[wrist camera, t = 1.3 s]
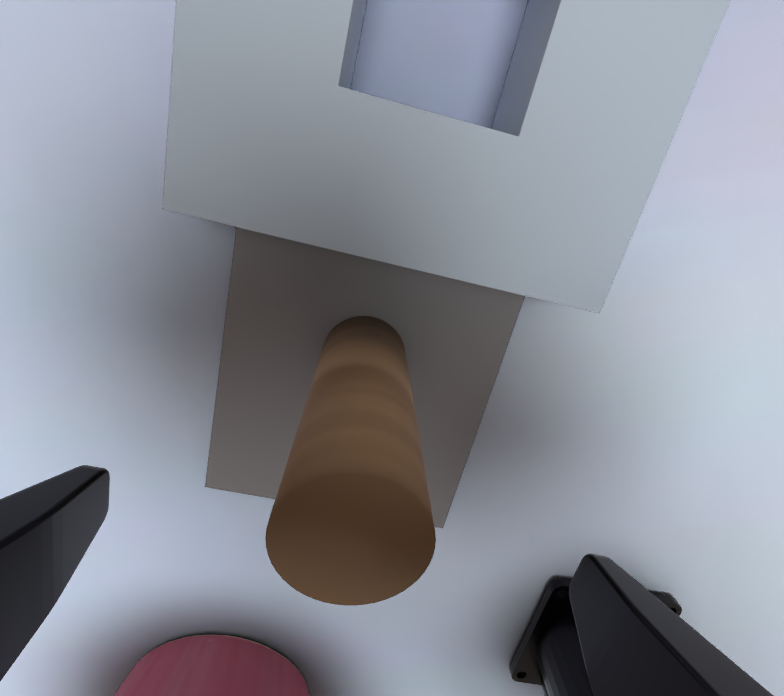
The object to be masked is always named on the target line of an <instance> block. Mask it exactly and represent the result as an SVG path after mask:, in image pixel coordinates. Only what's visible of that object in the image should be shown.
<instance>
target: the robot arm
mask: <svg viewBox="0 0 784 696" xmlns="http://www.w3.org/2000/svg"><path fill="white" fill-rule="evenodd" d="M109 481H110V476H109V472H108V471H107V470H106V469H104V468H99V467H93V466H88V465H83V466H79V467H76V468H74V469H72V470H69V471H67V472H64V473H62V474H60V475H57V476H55V477H52V478H50V479H48V480H45V481H43V482H41V483H38V484H36V485H33V486H31V487H29V488H26V489H24V490H21V491H19V492H17V493H14V494H12V495H9V496H7V497H5V498H2V499H0V681H1V680H2V678H3V677H4V675H5V674H6V673H7V671H8V670H9V668H10V667H11V666H12V664H13V663H14V662H15V660H16V659H17V657H18V656H19V655H20V653H21V652H22V650H23V649H24V648H25V646H26V645H27V643H28V642H29V641H30V639H31V638H32V636H33V635H34V634H35V632H36V631H37V630H38V628H39V627H40V625H41V624H42V623H43V621H44V620H45V618H46V617H47V615H48V614H49V612H50V611H51V610H52V608H53V607H54V605H55V603H56V602H57V600H58V599H59V597H60V595H61V594H62V592H63V590H64V589H65V587H66V585H67V583H68V582H69V580H70V578H71V577H72V575H73V573H74V571H75V570H76V568H77V566H78V565H79V563H80V561H81V559H82V558H83V556H84V554H85V552H86V551H87V549H88V547H89V546H90V544H91V542H92V540H93V539H94V537H95V535H96V534H97V532H98V530H99V528H100V527H101V525H102V523H103V521H104V520H105V517H106V515H107V512H108V507H109ZM681 611H682V608H681V606H680V605H679V603H678V602H677V601H676V599H675V598H673V597H670V596H664V595H658V594H652V593H650V592H649V591H648V590H647V589H646V588H644V587H643V586H642V585H641V584H640V583H639V582H637V581H636V580H635V579H634V578H633V577H631V576H630V575H629V574H628V573H627V572H625V571H624V570H623V569H622V568H621V567H619V566H618V565H617V564H616V563H615V562H613V561H612V560H611V559H610V558H608V557H605V556H600V555H595V554H587V555H585V556H584V557H583V559H582V561H581V563H580V565H579V567H578V569H577V571H576V573H575V575H574V577H573V579H572V580H567V579H556V580H553V581H552V582H551V583H550V584H549V585H548V587H547V589H546V592H545V594H544V596H543V598H542V600H541V602H540V604H539V606H538V608H537V610H536V612H535V614H534V616H533V618H532V621H531V623H530V625H529V627H528V629H527V631H526V633H525V635H524V637H523V639H522V641H521V643H520V645H519V648H518V650H517V652H516V654H515V656H514V658H513V660H512V662H511V664H510V667H509V669H510V673H511V676H512V679H513V680H515V681H518V682H524V683H532V684H539V685H542V687H543V690H544V693H545V696H773V695H772V694H771V693H770V692H768V691H767V690H766V689H765V688H764V687H762V686H761V685H760V684H759V683H758V682H756V681H755V680H754V679H753V678H752V677H750V676H749V675H748V674H747V673H746V672H745V671H743V670H742V669H741V668H740V667H739V666H737V665H736V664H735V663H734V662H733V661H731V660H730V659H729V658H728V657H727V656H725V655H724V654H723V653H722V652H721V651H719V650H718V649H717V648H716V647H715V646H714V645H712V644H711V643H710V642H709V641H708V640H706V639H705V638H704V637H703V636H702V635H700V634H699V633H698V632H697V631H696V630H694V629H693V628H692V627H691V626H690V625H689V624H687V623H686V622H685V621H684V620H683V619H681V618H680V617H679V615H680V614H681Z"/></svg>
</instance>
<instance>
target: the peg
mask: <svg viewBox="0 0 784 696" xmlns="http://www.w3.org/2000/svg"><path fill="white" fill-rule="evenodd" d="M435 541H436V538H435V528H434V522H433V516H432V510H431V504H430V498H429V492H428V486H427V480H426V474H425V468H424V462H423V456H422V450H421V444H420V438H419V432H418V426H417V420H416V414H415V408H414V402H413V396H412V390H411V383H410V377H409V371H408V365H407V359H406V353H405V348H404V344H403V341H402V339H401V337H400V335H399V334H398V332H397V331H396V330H395V329H394V328H393V327H392V326H391V325H390V324H388V323H387V322H385V321H383V320H381V319H378V318H375V317H370V316H356V317H352V318H349V319H346V320H344V321H342V322H340V323H339V324H338V325H336V326H335V327H334V328H333V329H332V330H331V331H330V333H329V334H328V336H327V337H326V340H325V342H324V345H323V348H322V352H321V355H320V358H319V361H318V364H317V368H316V371H315V374H314V377H313V381H312V384H311V387H310V390H309V393H308V397H307V400H306V403H305V406H304V409H303V413H302V416H301V419H300V422H299V425H298V429H297V432H296V435H295V438H294V442H293V445H292V448H291V451H290V454H289V458H288V461H287V464H286V467H285V470H284V474H283V477H282V480H281V483H280V486H279V490H278V493H277V496H276V499H275V502H274V506H273V509H272V512H271V515H270V519H269V522H268V526H267V529H266V548H267V552H268V556H269V558H270V561H271V563H272V565H273V567H274V568H275V570H276V571H277V573H278V574H279V575H280V576H281V577H282V579H283V580H285V581H286V582H287V583H288V584H289V585H290V586H292V587H293V588H294V589H296V590H297V591H299V592H301V593H302V594H304V595H306V596H308V597H311V598H313V599H316V600H319V601H322V602H326V603H331V604H338V605H364V604H370V603H375V602H379V601H382V600H386V599H388V598H390V597H393V596H395V595H397V594H399V593H401V592H403V591H404V590H406V589H407V588H408V587H410V586H411V585H412V584H413V583H415V582H416V581H417V580H418V579H419V578H420V577H421V575H422V574H423V573H424V572H425V570H426V569H427V567H428V565H429V564H430V561H431V559H432V557H433V553H434V549H435Z"/></svg>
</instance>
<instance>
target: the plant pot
mask: <svg viewBox="0 0 784 696" xmlns="http://www.w3.org/2000/svg"><path fill="white" fill-rule="evenodd" d="M113 696H310V695H309V690H308V687H307V684H306V681H305V679H304V678H303V676H302V674H301V673H300V671H299V670H298V669H297V668H296V667H295V665H293V664H292V663H291V662H290V661H289V660H288V659H287V658H285V657H284V656H282V655H281V654H279V653H278V652H276V651H274V650H272V649H271V648H269V647H267V646H264V645H262V644H260V643H257V642H254V641H251V640H248V639H244V638H240V637H235V636H228V635H196V636H188V637H184V638H180V639H176V640H173V641H170V642H167V643H165V644H163V645H160V646H159V647H157V648H155V649H153V650H151V651H150V652H148V653H147V654H146V655H145V656H143V657H142V658H141V659H140V660H139V661H138V662H137V663H136V664H135V666H134V667H133V668H132V670H131V671H130V673H129V674H128V675H127V677H126V678H125V680H124V681H123V683H122V684H121V686H120V687H119V689H118V690H117V691H116V693H115V694H114V695H113Z"/></svg>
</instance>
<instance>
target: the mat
mask: <svg viewBox="0 0 784 696" xmlns="http://www.w3.org/2000/svg"><path fill="white" fill-rule="evenodd" d="M524 298H525V296H524V295H520V294H515V293H511V292H507V291H503V290H499V289H494V288H490V287H486V286H482V285H478V284H473V283H469V282H465V281H461V280H457V279H453V278H448V277H444V276H440V275H436V274H432V273H427V272H423V271H419V270H415V269H411V268H406V267H402V266H398V265H394V264H390V263H386V262H381V261H377V260H373V259H369V258H365V257H360V256H356V255H352V254H348V253H344V252H339V251H335V250H331V249H327V248H323V247H319V246H314V245H310V244H306V243H302V242H298V241H293V240H289V239H285V238H281V237H277V236H272V235H268V234H264V233H260V232H256V231H252V230H247V229H243V228H239V227H236V235H235V244H234V252H233V260H232V268H231V277H230V285H229V293H228V301H227V310H226V318H225V326H224V334H223V343H222V351H221V359H220V367H219V376H218V384H217V392H216V400H215V409H214V417H213V425H212V433H211V442H210V450H209V458H208V466H207V475H206V483H205V487H208V488H214V489H220V490H226V491H232V492H237V493H243V494H249V495H255V496H260V497H266V498H272V499H276V496H277V493H278V490H279V486H280V483H281V480H282V477H283V474H284V470H285V467H286V464H287V461H288V458H289V454H290V451H291V448H292V445H293V442H294V438H295V435H296V432H297V429H298V425H299V422H300V419H301V416H302V413H303V409H304V406H305V403H306V400H307V397H308V393H309V390H310V387H311V384H312V381H313V377H314V374H315V371H316V368H317V364H318V361H319V358H320V355H321V352H322V348H323V345H324V342H325V340H326V337H327V336H328V334H329V333H330V331H331V330H332V329H333V328H334V327H335V326H336V325H338V324H339V323H340V322H342V321H344V320H346V319H349V318H352V317H356V316H370V317H375V318H378V319H381V320H383V321H385V322H387V323H388V324H390V325H391V326H392V327H393V328H394V329H395V330H396V331H397V332H398V334H399V335H400V337H401V339H402V341H403V344H404V348H405V353H406V359H407V365H408V371H409V377H410V383H411V390H412V396H413V402H414V408H415V414H416V420H417V426H418V432H419V438H420V444H421V450H422V456H423V462H424V468H425V474H426V480H427V486H428V492H429V498H430V504H431V510H432V516H433V522H434V527H440V528H443V526H444V523H445V521H446V518H447V515H448V512H449V509H450V506H451V504H452V501H453V498H454V495H455V492H456V490H457V487H458V484H459V481H460V478H461V475H462V473H463V470H464V467H465V464H466V461H467V459H468V456H469V453H470V450H471V447H472V444H473V442H474V439H475V436H476V433H477V430H478V427H479V425H480V422H481V419H482V416H483V413H484V411H485V408H486V405H487V402H488V399H489V396H490V394H491V391H492V388H493V385H494V382H495V379H496V377H497V374H498V371H499V368H500V365H501V363H502V360H503V357H504V354H505V351H506V348H507V346H508V343H509V340H510V337H511V334H512V331H513V329H514V326H515V323H516V320H517V317H518V315H519V312H520V309H521V306H522V303H523V300H524Z"/></svg>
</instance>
